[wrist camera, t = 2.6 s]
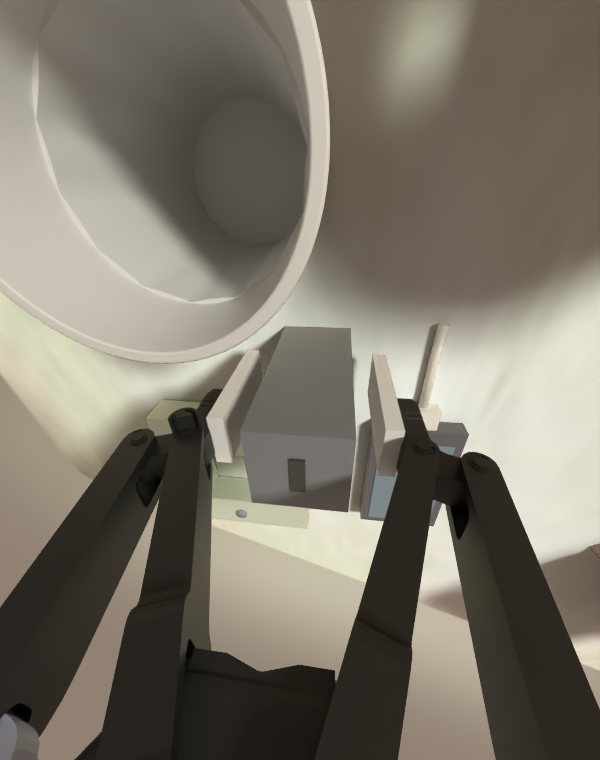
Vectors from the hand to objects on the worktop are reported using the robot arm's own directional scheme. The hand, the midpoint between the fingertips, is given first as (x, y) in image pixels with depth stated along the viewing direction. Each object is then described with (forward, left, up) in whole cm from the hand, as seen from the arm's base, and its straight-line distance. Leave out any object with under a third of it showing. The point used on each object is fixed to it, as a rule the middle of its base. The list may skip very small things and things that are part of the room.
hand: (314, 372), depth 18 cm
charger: (0, 0, -2) cm, 2 cm away
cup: (-10, -3, -2) cm, 11 cm away
